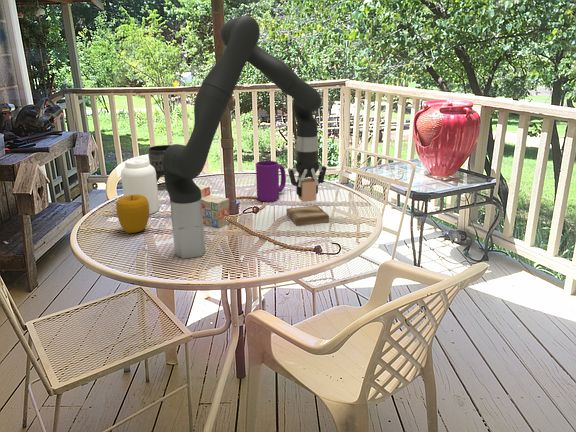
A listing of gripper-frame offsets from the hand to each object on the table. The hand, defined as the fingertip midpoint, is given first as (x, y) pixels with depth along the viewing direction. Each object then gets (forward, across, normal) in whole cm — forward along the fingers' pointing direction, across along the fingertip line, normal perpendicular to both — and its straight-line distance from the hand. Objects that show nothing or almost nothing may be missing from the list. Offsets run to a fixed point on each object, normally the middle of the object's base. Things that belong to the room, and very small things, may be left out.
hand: (307, 195), depth 178 cm
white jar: (+9, -57, +28) cm, 64 cm away
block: (+1, 0, 0) cm, 1 cm away
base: (+9, 0, 0) cm, 9 cm away
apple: (+9, -60, +7) cm, 61 cm away
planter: (+9, -46, +58) cm, 75 cm away
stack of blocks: (+9, -36, +11) cm, 39 cm away
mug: (+9, -5, +29) cm, 31 cm away
